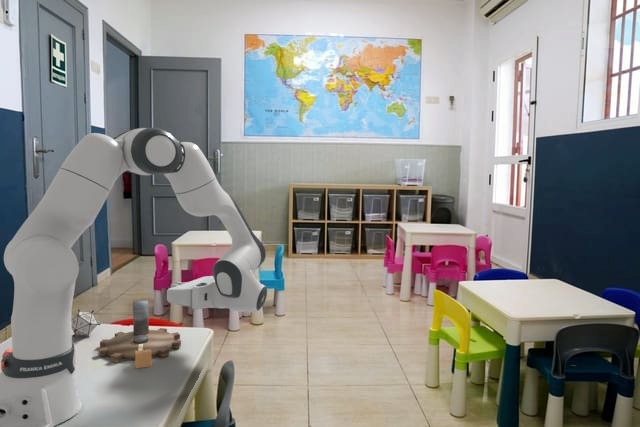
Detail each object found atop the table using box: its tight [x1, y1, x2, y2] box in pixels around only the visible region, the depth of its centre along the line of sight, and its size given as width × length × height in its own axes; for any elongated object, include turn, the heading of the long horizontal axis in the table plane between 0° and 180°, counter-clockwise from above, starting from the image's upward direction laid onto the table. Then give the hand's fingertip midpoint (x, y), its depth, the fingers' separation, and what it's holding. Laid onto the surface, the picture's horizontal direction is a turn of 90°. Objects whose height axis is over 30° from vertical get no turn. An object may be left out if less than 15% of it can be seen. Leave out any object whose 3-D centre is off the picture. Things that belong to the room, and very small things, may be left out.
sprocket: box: [97, 299, 182, 363], centre depth 138 cm, size 23×23×12 cm
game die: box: [71, 309, 101, 339], centre depth 146 cm, size 9×8×10 cm
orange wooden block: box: [134, 349, 153, 369], centre depth 126 cm, size 4×2×4 cm, turn 114°
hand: (173, 285), depth 140 cm, fingers closed
